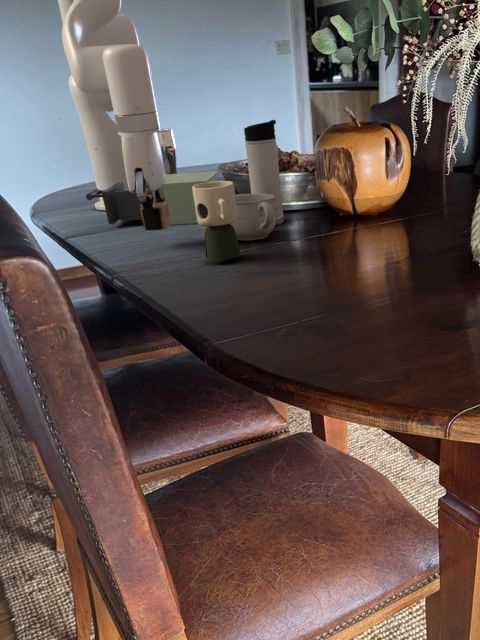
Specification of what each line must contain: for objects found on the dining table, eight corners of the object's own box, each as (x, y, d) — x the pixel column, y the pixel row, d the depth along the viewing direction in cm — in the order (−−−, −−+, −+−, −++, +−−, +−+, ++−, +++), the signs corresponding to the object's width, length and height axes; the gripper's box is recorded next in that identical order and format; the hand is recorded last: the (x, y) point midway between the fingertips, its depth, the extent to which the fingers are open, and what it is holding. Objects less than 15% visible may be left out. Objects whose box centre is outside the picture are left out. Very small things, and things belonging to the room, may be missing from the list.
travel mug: (281, 226, 136) (271, 121, 125) (251, 227, 137) (238, 123, 127) (288, 219, 141) (279, 118, 131) (259, 220, 142) (248, 120, 132)
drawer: (87, 225, 146) (79, 193, 143) (104, 214, 156) (97, 184, 153) (167, 220, 145) (161, 188, 141) (179, 209, 155) (174, 178, 151)
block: (144, 230, 125) (140, 208, 123) (150, 225, 128) (146, 203, 126) (165, 229, 125) (161, 207, 122) (171, 223, 128) (167, 202, 126)
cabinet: (148, 226, 145) (139, 185, 141) (162, 213, 156) (155, 175, 152) (213, 222, 144) (206, 180, 139) (223, 209, 155) (217, 170, 150)
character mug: (197, 256, 120) (184, 183, 113) (233, 250, 122) (223, 177, 115) (213, 271, 111) (200, 192, 104) (252, 263, 113) (242, 185, 107)
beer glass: (179, 187, 187) (169, 130, 179) (155, 188, 187) (144, 132, 180) (184, 182, 193) (174, 128, 185) (161, 184, 193) (150, 130, 186)
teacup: (218, 236, 132) (212, 195, 128) (268, 227, 135) (264, 188, 131) (238, 251, 121) (232, 207, 117) (292, 241, 124) (288, 198, 120)
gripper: (131, 120, 124) (150, 217, 134) (102, 131, 110) (126, 239, 119) (169, 117, 124) (186, 214, 133) (145, 128, 109) (166, 237, 119)
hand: (157, 225), depth 126 cm, fingers closed on block, 4 cm apart
